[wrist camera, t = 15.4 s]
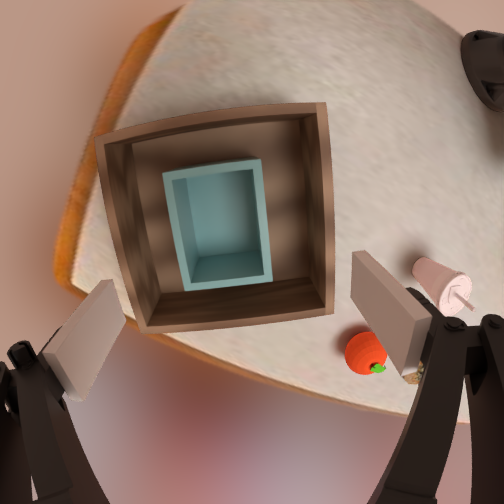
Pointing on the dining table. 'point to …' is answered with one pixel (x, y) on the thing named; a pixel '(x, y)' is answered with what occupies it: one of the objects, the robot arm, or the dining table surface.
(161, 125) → the walnut crate
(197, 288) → the teal crate
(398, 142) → the dining table surface
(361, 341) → the clementine
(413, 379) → the bread roll
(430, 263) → the smoothie
